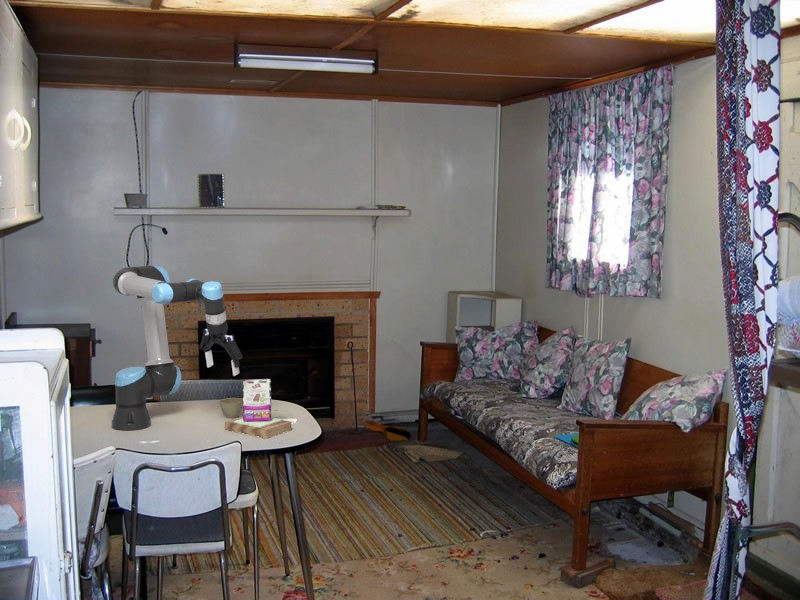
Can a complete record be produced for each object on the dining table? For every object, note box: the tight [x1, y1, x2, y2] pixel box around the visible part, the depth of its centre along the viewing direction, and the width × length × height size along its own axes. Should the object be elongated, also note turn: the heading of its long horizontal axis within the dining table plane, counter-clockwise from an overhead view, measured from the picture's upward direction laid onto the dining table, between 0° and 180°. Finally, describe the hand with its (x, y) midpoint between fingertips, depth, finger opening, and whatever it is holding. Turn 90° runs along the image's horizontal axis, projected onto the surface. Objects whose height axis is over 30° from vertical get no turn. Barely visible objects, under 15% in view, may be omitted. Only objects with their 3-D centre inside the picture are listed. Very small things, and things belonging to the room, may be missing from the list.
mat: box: [234, 417, 283, 428], centre depth 340 cm, size 14×13×1 cm
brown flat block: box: [224, 415, 292, 439], centre depth 341 cm, size 22×15×4 cm
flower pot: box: [219, 397, 243, 419], centre depth 360 cm, size 10×10×7 cm
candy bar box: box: [242, 378, 272, 422], centre depth 340 cm, size 11×5×16 cm, turn 98°
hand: (223, 370), depth 332 cm, fingers open, 13 cm apart
